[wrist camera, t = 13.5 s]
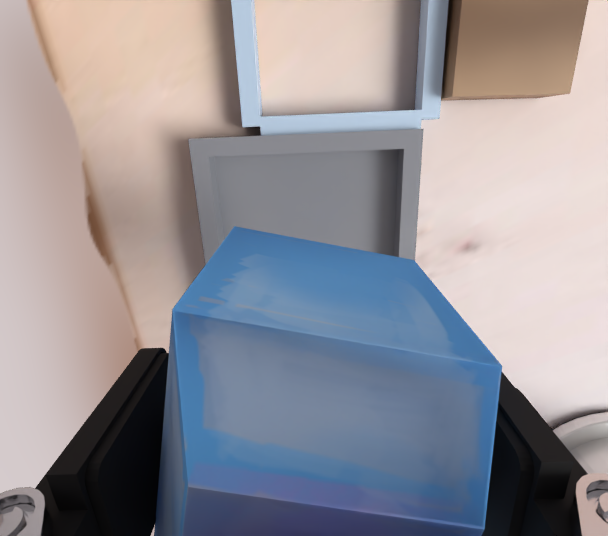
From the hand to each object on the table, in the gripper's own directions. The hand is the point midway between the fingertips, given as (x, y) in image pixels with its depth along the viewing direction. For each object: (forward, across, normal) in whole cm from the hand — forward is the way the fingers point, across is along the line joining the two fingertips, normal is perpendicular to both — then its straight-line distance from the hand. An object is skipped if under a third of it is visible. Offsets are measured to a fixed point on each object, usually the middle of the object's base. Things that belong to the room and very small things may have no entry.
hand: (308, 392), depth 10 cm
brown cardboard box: (+16, -11, -11) cm, 22 cm away
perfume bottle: (+4, 0, 0) cm, 4 cm away
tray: (+16, 0, 0) cm, 16 cm away
